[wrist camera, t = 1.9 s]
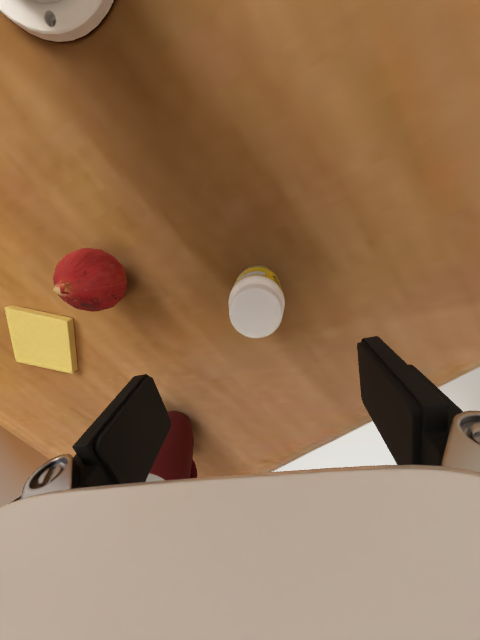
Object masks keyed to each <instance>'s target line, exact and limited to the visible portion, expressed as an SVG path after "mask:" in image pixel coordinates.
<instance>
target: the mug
mask: <svg viewBox="0 0 480 640" xmlns="http://www.w3.org/2000/svg"><path fill="white" fill-rule="evenodd" d="M168 415H169V417H170V419H171V428H170V430H169V432H168V434H167V436H166V439H165V441H164V443H163V445H162V447H161V449H160V451H159V453H158V456H157V458H156V460H155V462H154V464H153V466H152V468H151V470H150V473H149V475H148V477H147V479H146V481H145V482H152V481H164V480H176V479H189V478H197V469H196V465H195V462H194V460H193V459H192V456H193V447H194V436H193V431H192V427H191V423H190V420H189V419H188V417H187V416H186V415H184V414H183V413H181V412H177V411H171V412H168Z"/></svg>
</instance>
